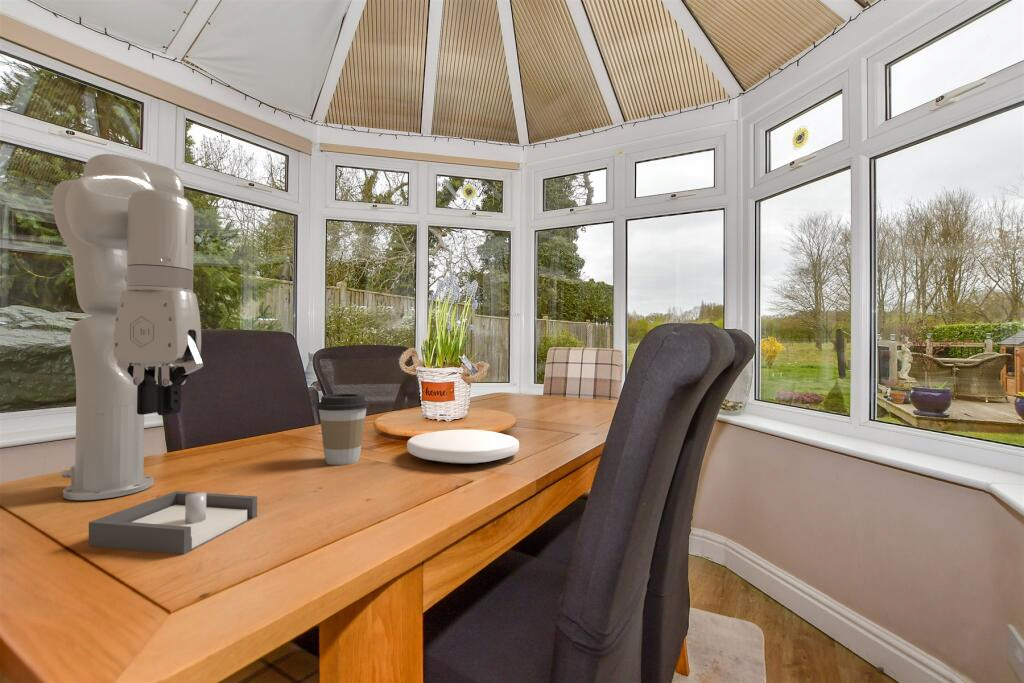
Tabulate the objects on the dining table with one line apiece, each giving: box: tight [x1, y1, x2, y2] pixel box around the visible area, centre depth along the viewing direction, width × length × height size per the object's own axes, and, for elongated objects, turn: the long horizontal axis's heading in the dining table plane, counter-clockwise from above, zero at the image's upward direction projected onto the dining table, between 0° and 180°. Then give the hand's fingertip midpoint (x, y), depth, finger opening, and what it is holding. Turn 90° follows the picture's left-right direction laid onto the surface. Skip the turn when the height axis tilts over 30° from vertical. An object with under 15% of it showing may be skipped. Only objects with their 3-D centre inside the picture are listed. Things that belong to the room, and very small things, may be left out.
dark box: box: [87, 490, 258, 556], centre depth 67 cm, size 14×13×4 cm
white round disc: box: [406, 429, 520, 465], centre depth 116 cm, size 28×6×27 cm
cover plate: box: [132, 491, 247, 549], centre depth 66 cm, size 12×10×5 cm
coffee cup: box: [316, 393, 370, 466], centre depth 110 cm, size 11×11×15 cm
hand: (159, 412), depth 67 cm, fingers closed
